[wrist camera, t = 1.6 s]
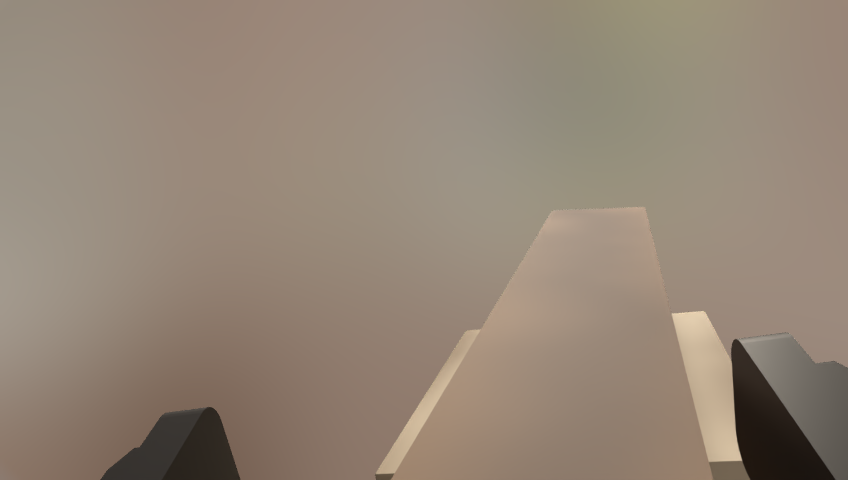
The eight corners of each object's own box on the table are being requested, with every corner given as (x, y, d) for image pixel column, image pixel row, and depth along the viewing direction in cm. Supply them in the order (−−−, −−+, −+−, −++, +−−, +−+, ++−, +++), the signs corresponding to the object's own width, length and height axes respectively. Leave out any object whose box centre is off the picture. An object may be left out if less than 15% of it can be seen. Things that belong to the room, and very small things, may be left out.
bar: (400, 786, 10) (376, 504, 9) (555, 296, 35) (552, 210, 34) (726, 840, 9) (724, 526, 8) (646, 295, 34) (644, 207, 33)
